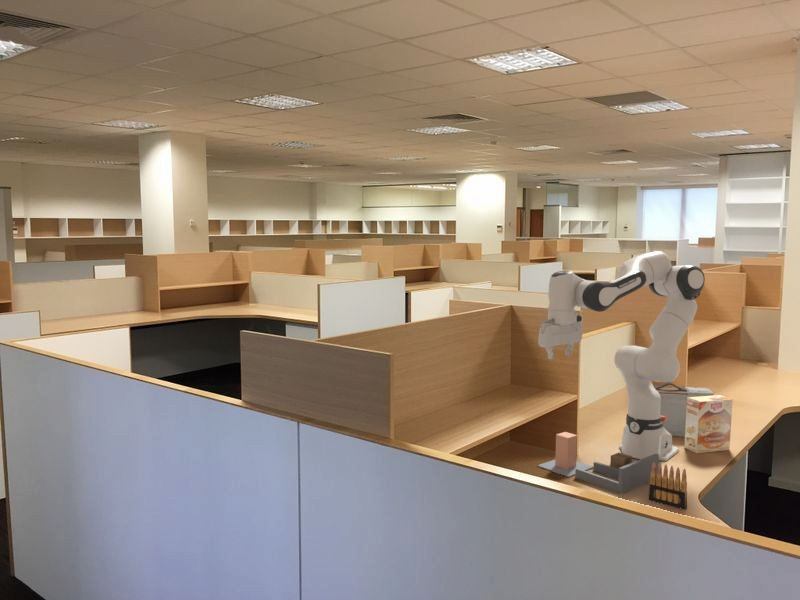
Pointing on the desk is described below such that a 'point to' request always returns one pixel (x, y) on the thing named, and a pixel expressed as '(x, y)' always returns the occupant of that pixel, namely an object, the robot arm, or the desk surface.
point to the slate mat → (562, 471)
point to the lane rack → (621, 474)
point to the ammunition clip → (668, 487)
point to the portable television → (677, 406)
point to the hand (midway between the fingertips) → (559, 357)
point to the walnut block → (620, 460)
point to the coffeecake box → (708, 423)
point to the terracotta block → (566, 450)
